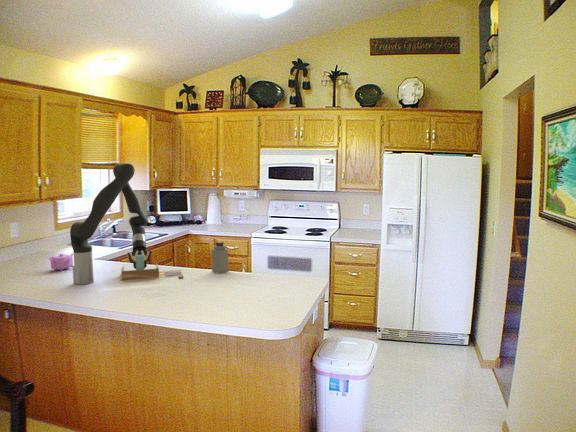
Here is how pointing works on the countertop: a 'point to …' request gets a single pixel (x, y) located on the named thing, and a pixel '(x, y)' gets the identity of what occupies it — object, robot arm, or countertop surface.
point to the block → (140, 262)
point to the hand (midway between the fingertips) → (140, 267)
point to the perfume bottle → (219, 258)
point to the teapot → (61, 262)
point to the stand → (148, 274)
